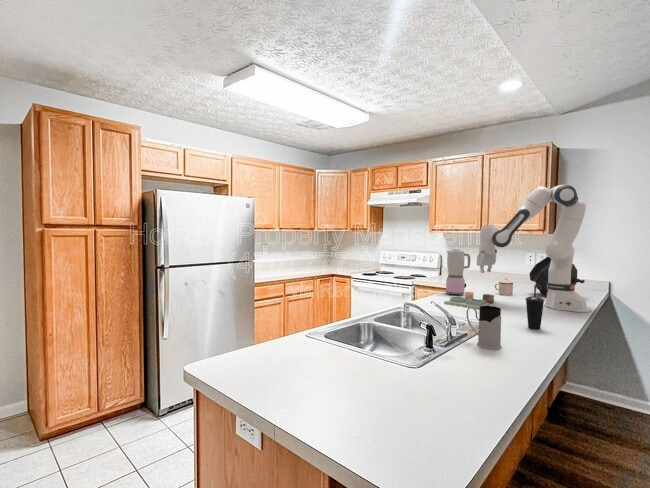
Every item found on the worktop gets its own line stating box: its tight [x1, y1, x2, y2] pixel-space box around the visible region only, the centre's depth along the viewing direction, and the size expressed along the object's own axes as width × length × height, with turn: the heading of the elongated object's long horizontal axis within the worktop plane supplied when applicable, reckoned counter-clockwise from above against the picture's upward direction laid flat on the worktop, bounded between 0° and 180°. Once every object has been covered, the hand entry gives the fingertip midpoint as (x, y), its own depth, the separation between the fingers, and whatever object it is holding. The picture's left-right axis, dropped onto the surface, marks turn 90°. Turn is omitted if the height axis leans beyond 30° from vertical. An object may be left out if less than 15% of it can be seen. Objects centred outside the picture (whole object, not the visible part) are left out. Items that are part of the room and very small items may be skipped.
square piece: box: [482, 293, 495, 305], centre depth 222 cm, size 5×5×5 cm
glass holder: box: [466, 305, 502, 351], centre depth 140 cm, size 9×14×15 cm, turn 36°
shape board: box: [443, 296, 491, 310], centre depth 215 cm, size 22×14×4 cm, turn 44°
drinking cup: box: [525, 284, 546, 331], centre depth 163 cm, size 8×8×20 cm
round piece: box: [464, 291, 474, 300], centre depth 231 cm, size 5×5×5 cm
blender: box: [445, 248, 471, 297], centre depth 249 cm, size 16×12×32 cm
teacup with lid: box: [494, 277, 514, 297], centre depth 252 cm, size 12×9×12 cm
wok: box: [528, 256, 586, 295], centre depth 243 cm, size 28×28×24 cm
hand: (485, 272), depth 224 cm, fingers open, 8 cm apart
